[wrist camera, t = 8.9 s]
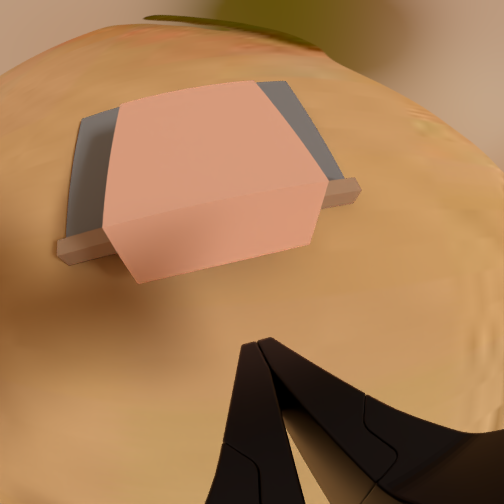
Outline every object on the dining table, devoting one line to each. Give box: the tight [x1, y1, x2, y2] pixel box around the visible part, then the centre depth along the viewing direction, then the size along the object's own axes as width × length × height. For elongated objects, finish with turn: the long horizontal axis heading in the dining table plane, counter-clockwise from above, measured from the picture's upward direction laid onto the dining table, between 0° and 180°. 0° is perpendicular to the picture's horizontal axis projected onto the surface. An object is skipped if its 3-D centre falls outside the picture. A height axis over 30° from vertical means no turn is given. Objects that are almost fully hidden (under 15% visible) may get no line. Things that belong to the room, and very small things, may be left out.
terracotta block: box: [102, 80, 329, 284], centre depth 17 cm, size 10×5×12 cm
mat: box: [57, 81, 362, 265], centre depth 21 cm, size 22×16×2 cm
